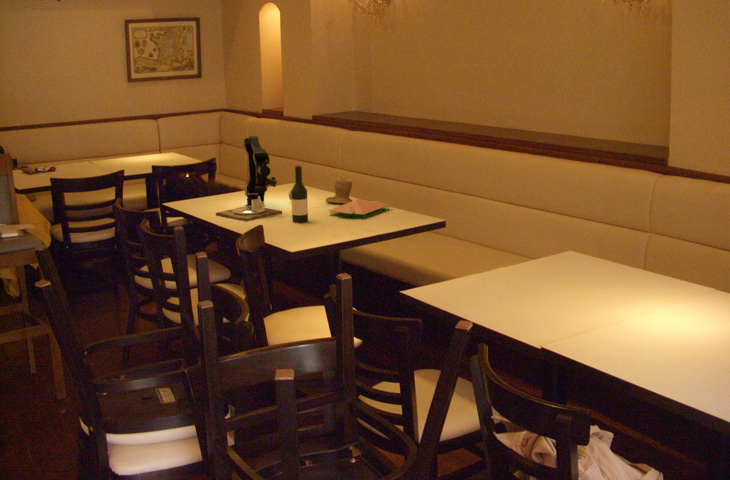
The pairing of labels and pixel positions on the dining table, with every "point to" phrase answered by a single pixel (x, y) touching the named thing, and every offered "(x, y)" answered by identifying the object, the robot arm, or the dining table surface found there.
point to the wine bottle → (299, 199)
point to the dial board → (248, 217)
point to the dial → (251, 208)
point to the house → (360, 208)
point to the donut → (290, 194)
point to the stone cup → (341, 192)
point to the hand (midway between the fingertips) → (262, 201)
